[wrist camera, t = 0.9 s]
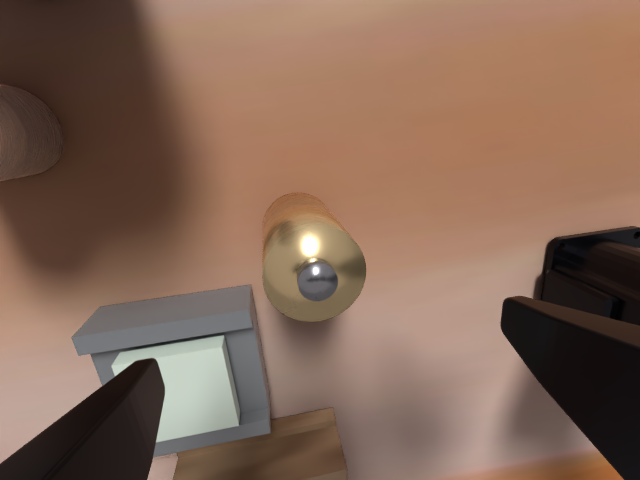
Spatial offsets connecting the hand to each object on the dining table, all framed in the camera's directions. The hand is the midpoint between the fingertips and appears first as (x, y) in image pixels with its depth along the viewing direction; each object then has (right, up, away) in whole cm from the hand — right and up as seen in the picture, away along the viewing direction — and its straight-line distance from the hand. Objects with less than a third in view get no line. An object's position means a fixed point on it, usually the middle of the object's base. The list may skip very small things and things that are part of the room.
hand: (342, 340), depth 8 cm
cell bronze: (-2, +3, +10) cm, 10 cm away
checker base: (-8, -4, +11) cm, 14 cm away
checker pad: (-8, -5, +9) cm, 13 cm away
